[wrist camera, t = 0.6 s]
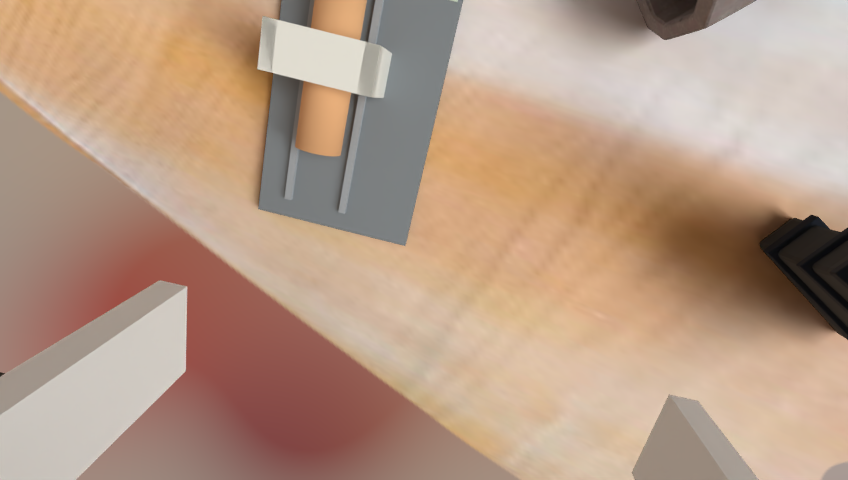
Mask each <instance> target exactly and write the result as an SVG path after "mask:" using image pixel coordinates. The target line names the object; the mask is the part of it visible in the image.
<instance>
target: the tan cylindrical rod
mask: <svg viewBox="0 0 848 480" xmlns="http://www.w3.org/2000/svg"><path fill="white" fill-rule="evenodd" d="M366 3H367V0H314V7H313V15H312V22H311V28H313V29H317V30H321V31H325V32H329V33H333V34H337V35H341V36H345V37H349V38H353V39H357V40H360V38H361V33H362V27H363V21H364V15H365V9H366ZM350 97H351V92H347V91H343V90H339V89H335V88H331V87H327V86H323V85H319V84H315V83H311V82H307V81H304V82H303V90H302V97H301V105H300V112H299V120H298V127H297V134H296V142H295V147H296V148H298V149H300V150H302V151H306V152H309V153H313V154H318V155H324V156H340V155H341V151H342V145H343V139H344V133H345V127H346V121H347V115H348V109H349V103H350Z"/></svg>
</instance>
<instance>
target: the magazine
mask: <svg viewBox="0 0 848 480" xmlns="http://www.w3.org/2000/svg"><path fill="white" fill-rule="evenodd" d="M759 245H760V247H761V249H762V250H763V251H764V252H765V254H766V255H767V256H768V257H769V258H770V259H771V260H772V261H773V262H774V263H775V264H776V265H777V266H778V268H779V269H780V270H781V271H782V272H783V273H784V274H785V275H786V276H787V277H788V279H789V280H790V281H791V282H792V283H793V284H794V285H795V286H796V287H797V289H798V290H799V291H800V292H801V293H802V294H803V295H804V296H805V297H806V298H807V300H808V301H809V302H810V303H811V304H812V305H813V306H814V307H815V308H816V310H817V311H818V312H819V313H820V314H821V315H822V316H823V317H824V318H825V320H826V321H827V322H828V323H829V324H830V325H831V326H832V327H833V328H834V329H835V331H836V332H837V333H838V334H840V335H841V336H843V337H845V338H846V339H847V340H848V228H846V229H845V230H844V231H842V232H838V231H834V230H830V229H829V227H828V226H827V225H826V224H825V223H824V222H823V221H822V220H821V219H820V218H819V217H817V216H814V215H810V216H809V217H807V218H806V219H805V220H803V221H802V220H800V219H797V218H793V219H791V220H789V221H788V222H787V223H785V224H784V225H783V226H781V227H780V228H779V229H777V230H776V231H775V232H773V233H772V234H770V235H769V236H768V237H766V238H765V239H764V240H762V241H761V242H760V244H759Z"/></svg>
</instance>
